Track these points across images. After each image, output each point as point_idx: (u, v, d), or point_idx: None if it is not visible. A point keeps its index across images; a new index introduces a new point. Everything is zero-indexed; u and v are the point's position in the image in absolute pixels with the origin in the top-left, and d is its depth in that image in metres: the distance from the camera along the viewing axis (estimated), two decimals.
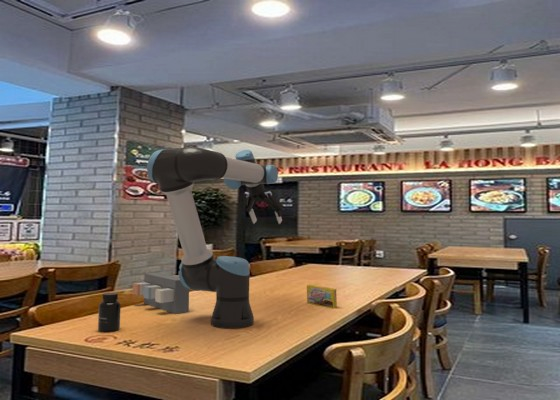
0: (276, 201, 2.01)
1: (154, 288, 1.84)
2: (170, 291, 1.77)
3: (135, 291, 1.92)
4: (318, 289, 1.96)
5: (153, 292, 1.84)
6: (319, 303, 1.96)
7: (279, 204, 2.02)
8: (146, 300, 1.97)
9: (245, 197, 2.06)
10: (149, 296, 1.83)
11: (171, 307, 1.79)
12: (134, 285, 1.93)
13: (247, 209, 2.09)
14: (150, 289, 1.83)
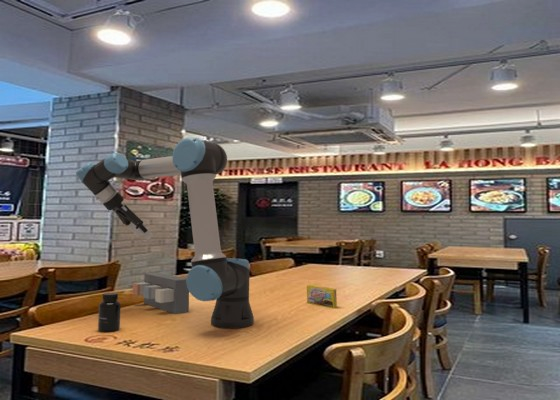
0: None
1: (154, 288, 1.84)
2: (170, 291, 1.77)
3: (135, 291, 1.92)
4: (318, 289, 1.96)
5: (153, 292, 1.84)
6: (319, 303, 1.96)
7: None
8: (146, 300, 1.97)
9: None
10: (149, 296, 1.83)
11: (171, 307, 1.79)
12: (134, 285, 1.93)
13: None
14: (150, 289, 1.83)
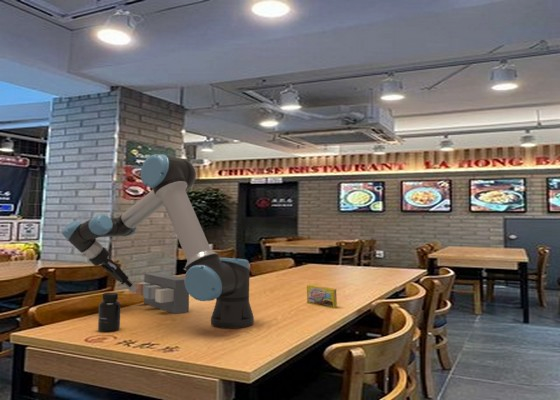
0: None
1: (154, 288, 1.84)
2: (170, 291, 1.77)
3: (138, 291, 1.93)
4: (318, 289, 1.96)
5: (153, 292, 1.84)
6: (319, 303, 1.96)
7: None
8: (146, 300, 1.97)
9: None
10: (149, 296, 1.83)
11: (171, 307, 1.79)
12: (137, 285, 1.94)
13: None
14: (150, 289, 1.83)
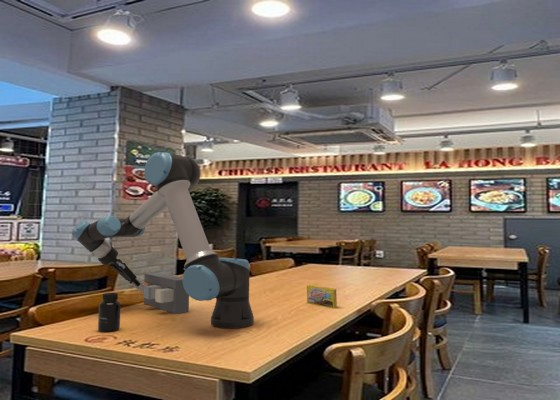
0: None
1: (154, 288, 1.84)
2: (170, 291, 1.77)
3: None
4: (318, 289, 1.96)
5: (153, 292, 1.84)
6: (319, 303, 1.96)
7: None
8: (146, 300, 1.97)
9: None
10: (149, 296, 1.83)
11: (171, 307, 1.79)
12: (145, 284, 1.96)
13: None
14: (150, 289, 1.83)
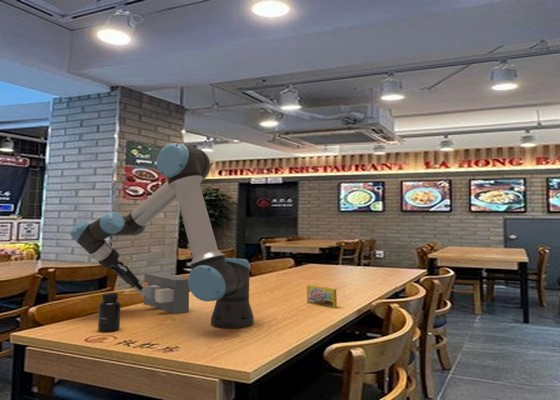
0: None
1: (157, 287, 1.85)
2: (170, 291, 1.77)
3: None
4: (318, 289, 1.96)
5: None
6: (319, 303, 1.96)
7: None
8: (146, 300, 1.97)
9: None
10: (152, 296, 1.83)
11: (171, 307, 1.79)
12: (145, 284, 1.96)
13: None
14: (153, 289, 1.84)
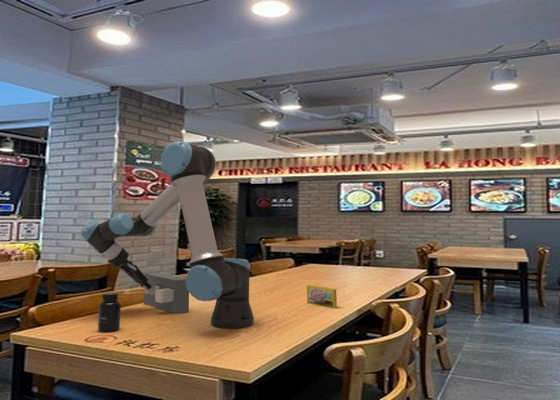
0: None
1: None
2: (170, 291, 1.77)
3: None
4: (318, 289, 1.96)
5: None
6: (319, 303, 1.96)
7: None
8: (146, 300, 1.97)
9: None
10: None
11: (171, 307, 1.79)
12: None
13: None
14: (161, 288, 1.86)
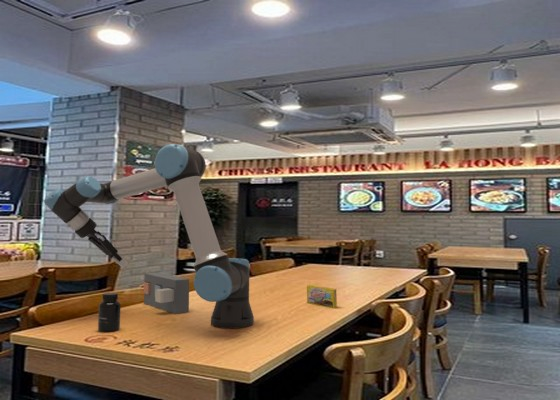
0: None
1: None
2: (170, 291, 1.77)
3: (146, 290, 1.95)
4: (318, 289, 1.96)
5: None
6: (319, 303, 1.96)
7: None
8: (146, 300, 1.97)
9: None
10: None
11: (171, 307, 1.79)
12: (145, 284, 1.96)
13: None
14: (161, 288, 1.86)
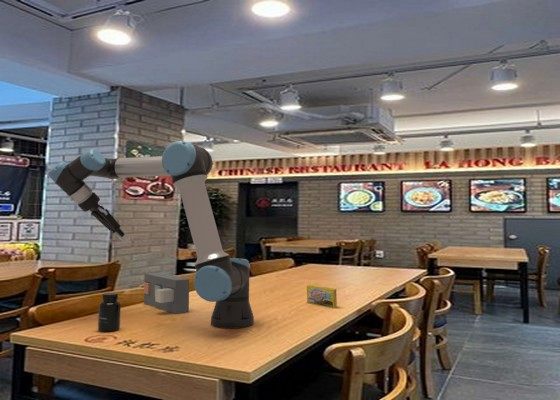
0: None
1: None
2: (170, 291, 1.77)
3: (146, 290, 1.95)
4: (318, 289, 1.96)
5: None
6: (319, 303, 1.96)
7: None
8: (146, 300, 1.97)
9: None
10: None
11: (171, 307, 1.79)
12: (145, 284, 1.96)
13: None
14: (161, 288, 1.86)
